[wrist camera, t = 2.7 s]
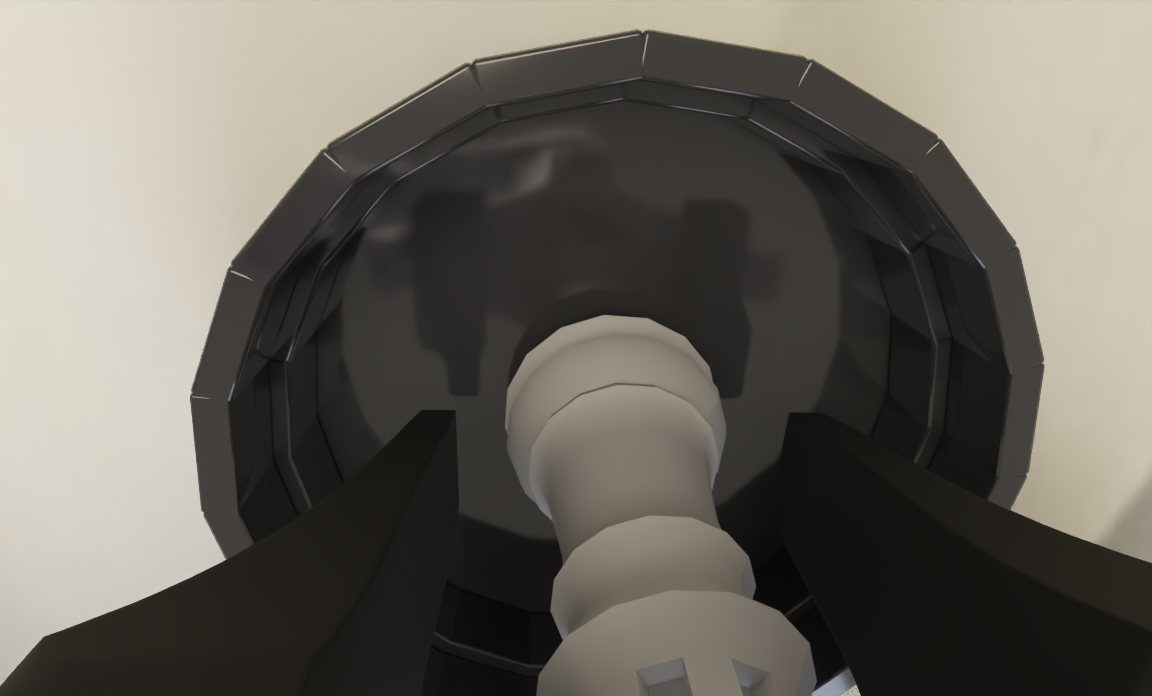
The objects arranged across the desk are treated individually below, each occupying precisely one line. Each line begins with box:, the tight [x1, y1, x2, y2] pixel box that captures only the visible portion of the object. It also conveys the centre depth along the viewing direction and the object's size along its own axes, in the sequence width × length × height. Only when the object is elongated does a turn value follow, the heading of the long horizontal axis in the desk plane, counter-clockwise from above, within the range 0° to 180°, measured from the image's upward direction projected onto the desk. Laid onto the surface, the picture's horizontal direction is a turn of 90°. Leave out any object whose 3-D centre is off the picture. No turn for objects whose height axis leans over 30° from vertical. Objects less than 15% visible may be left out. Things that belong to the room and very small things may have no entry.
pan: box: [190, 29, 1044, 696], centre depth 13 cm, size 14×14×4 cm
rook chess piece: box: [505, 315, 817, 696], centre depth 10 cm, size 4×4×8 cm
